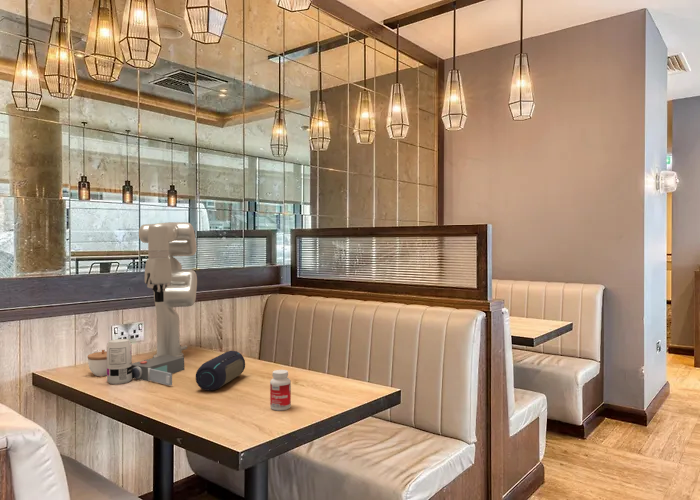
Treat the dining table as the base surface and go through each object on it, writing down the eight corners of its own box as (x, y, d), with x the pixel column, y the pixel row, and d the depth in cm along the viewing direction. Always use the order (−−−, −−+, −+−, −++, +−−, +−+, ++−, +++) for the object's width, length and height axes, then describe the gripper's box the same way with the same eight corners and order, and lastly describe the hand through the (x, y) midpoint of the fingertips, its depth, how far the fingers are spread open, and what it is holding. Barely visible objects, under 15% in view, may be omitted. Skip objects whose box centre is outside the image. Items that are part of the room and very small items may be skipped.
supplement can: (102, 383, 185) (101, 341, 185) (121, 377, 192) (121, 337, 192) (117, 385, 181) (116, 343, 181) (136, 380, 189) (136, 339, 188)
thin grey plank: (172, 385, 180) (172, 373, 180) (169, 386, 179) (168, 374, 179) (151, 380, 187) (151, 368, 187) (148, 381, 186) (148, 369, 186)
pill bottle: (268, 411, 153) (268, 374, 153) (272, 404, 159) (271, 369, 159) (289, 411, 153) (289, 373, 153) (292, 404, 159) (291, 368, 159)
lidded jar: (124, 370, 203) (123, 347, 203) (108, 378, 192) (108, 353, 192) (98, 370, 204) (98, 346, 204) (81, 377, 193) (81, 352, 193)
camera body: (164, 367, 208) (164, 353, 208) (186, 370, 203) (186, 356, 203) (125, 378, 191) (124, 363, 191) (147, 382, 186) (147, 366, 186)
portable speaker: (219, 394, 171) (219, 364, 170) (192, 392, 172) (191, 363, 172) (249, 375, 195) (248, 348, 195) (224, 374, 197) (224, 348, 197)
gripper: (166, 255, 212) (166, 299, 212) (136, 256, 198) (137, 303, 198) (179, 255, 208) (180, 300, 208) (150, 256, 195) (151, 304, 195)
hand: (159, 301), depth 203 cm, fingers closed
